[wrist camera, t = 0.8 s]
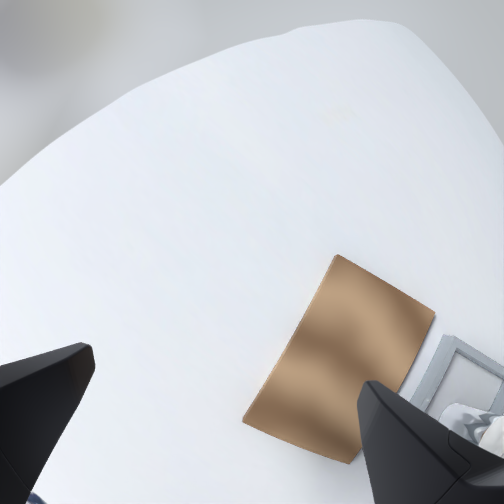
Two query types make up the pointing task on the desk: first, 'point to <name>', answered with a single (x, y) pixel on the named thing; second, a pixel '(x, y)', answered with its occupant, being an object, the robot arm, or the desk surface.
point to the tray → (441, 363)
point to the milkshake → (476, 426)
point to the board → (339, 361)
